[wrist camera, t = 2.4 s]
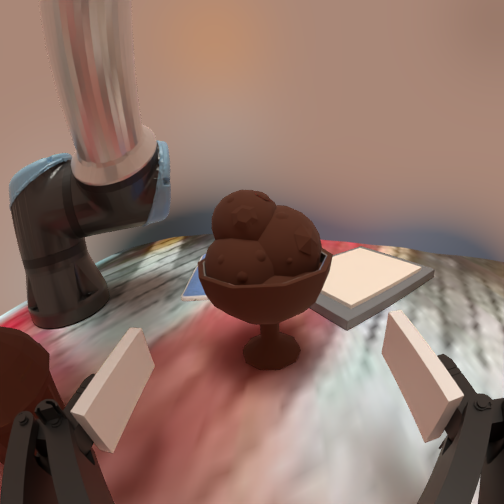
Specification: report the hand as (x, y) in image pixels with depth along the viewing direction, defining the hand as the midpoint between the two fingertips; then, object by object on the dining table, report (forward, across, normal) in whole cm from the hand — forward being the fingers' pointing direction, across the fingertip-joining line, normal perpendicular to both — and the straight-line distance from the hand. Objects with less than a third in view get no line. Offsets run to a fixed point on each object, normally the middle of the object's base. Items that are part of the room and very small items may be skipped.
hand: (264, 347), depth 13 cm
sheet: (+24, +13, -7) cm, 28 cm away
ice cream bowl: (+10, 0, -8) cm, 13 cm away
